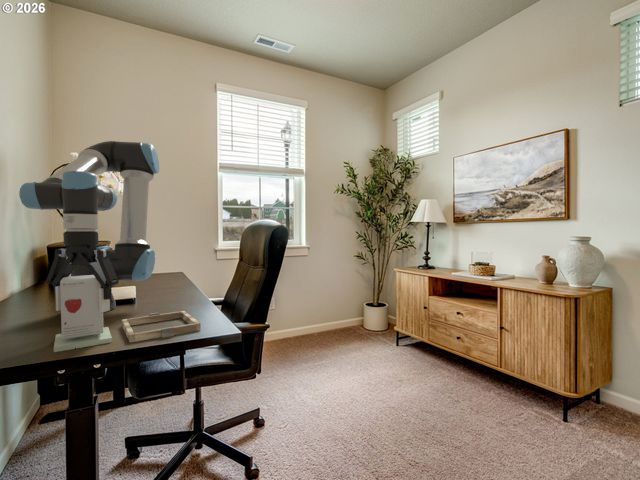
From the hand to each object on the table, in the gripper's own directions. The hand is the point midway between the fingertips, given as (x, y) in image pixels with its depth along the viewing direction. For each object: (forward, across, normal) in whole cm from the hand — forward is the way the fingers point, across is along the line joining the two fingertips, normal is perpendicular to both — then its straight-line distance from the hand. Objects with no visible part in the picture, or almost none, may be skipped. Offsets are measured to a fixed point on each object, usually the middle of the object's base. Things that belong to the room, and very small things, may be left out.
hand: (83, 310), depth 88 cm
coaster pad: (+8, 0, 0) cm, 8 cm away
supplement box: (+6, 0, 0) cm, 6 cm away
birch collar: (+8, +14, +13) cm, 21 cm away
